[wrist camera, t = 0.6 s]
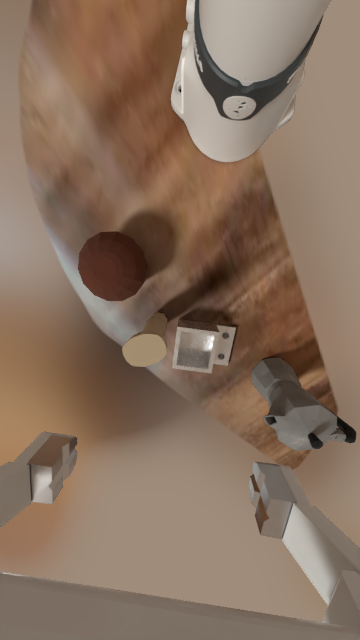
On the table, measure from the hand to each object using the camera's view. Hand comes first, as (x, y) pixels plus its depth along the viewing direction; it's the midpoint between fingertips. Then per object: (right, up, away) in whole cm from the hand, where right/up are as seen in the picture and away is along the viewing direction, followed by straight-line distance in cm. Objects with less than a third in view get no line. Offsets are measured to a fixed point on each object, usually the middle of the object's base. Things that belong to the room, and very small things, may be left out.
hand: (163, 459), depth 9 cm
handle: (-3, +7, +34) cm, 35 cm away
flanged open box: (+6, +2, +35) cm, 36 cm away
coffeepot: (+22, -6, +37) cm, 44 cm away
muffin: (-10, +17, +31) cm, 37 cm away
